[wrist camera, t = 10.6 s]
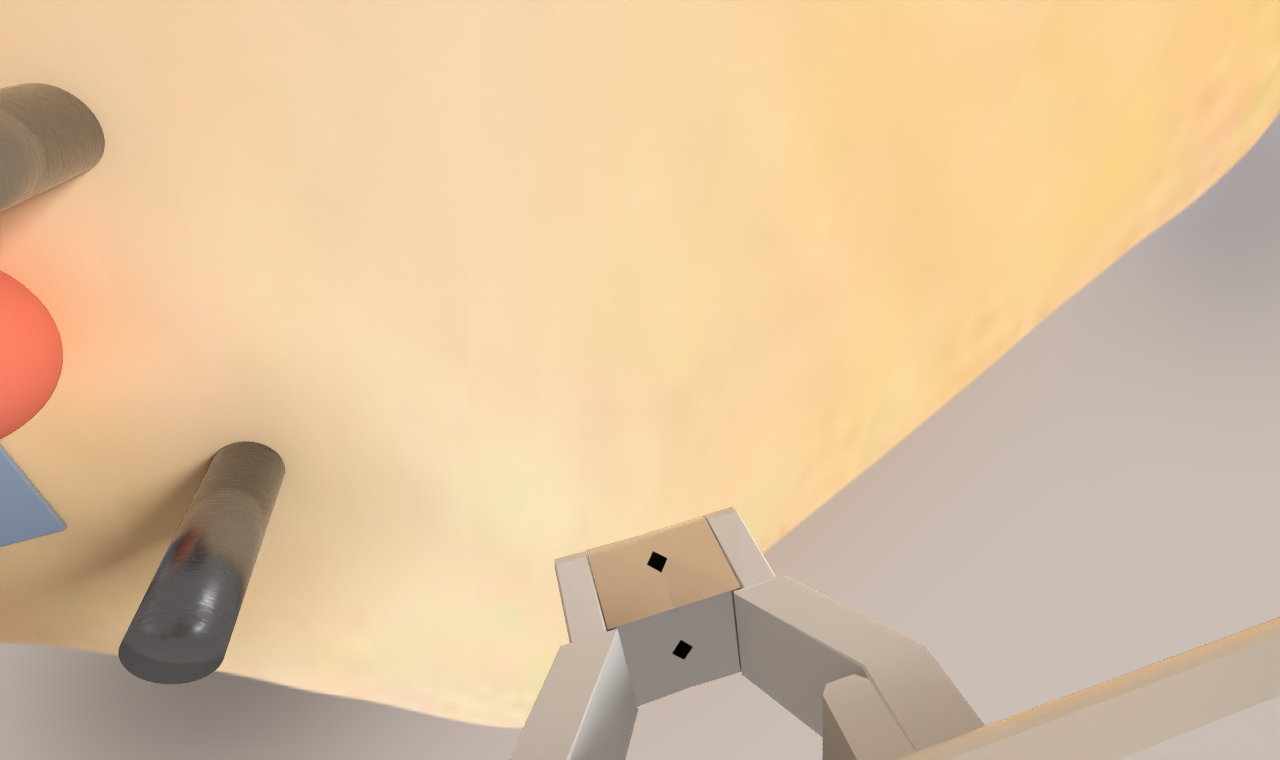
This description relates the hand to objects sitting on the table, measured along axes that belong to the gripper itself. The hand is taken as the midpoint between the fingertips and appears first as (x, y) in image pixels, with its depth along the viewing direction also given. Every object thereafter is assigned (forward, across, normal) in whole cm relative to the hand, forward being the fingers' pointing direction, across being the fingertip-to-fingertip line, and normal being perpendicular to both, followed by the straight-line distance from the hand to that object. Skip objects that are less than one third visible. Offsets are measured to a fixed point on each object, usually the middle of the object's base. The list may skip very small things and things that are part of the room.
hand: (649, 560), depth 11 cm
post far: (+17, +13, +6) cm, 23 cm away
